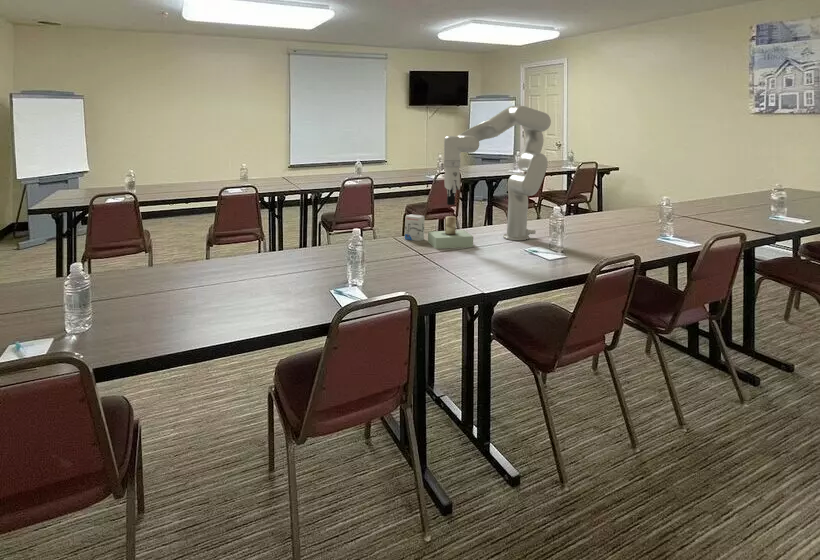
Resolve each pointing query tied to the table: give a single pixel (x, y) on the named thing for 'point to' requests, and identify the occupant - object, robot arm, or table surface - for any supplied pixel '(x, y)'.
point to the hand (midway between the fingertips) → (450, 204)
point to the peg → (450, 225)
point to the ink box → (414, 227)
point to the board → (450, 239)
